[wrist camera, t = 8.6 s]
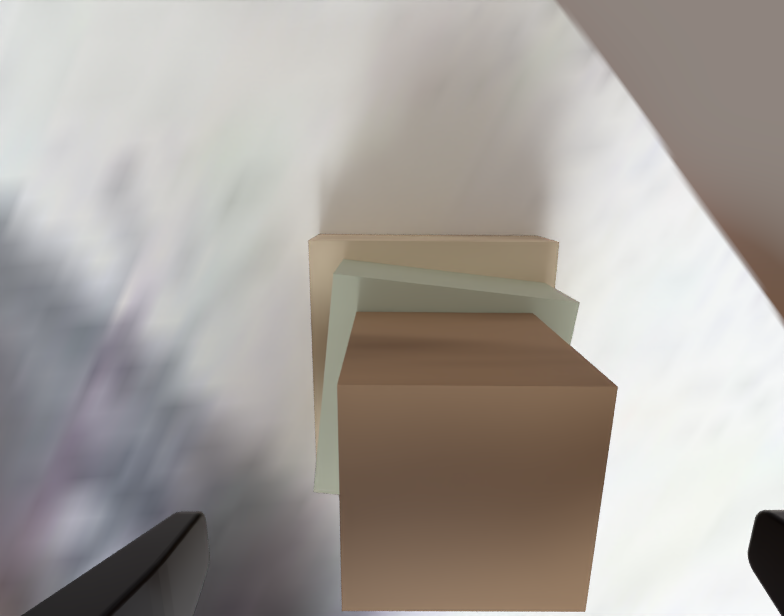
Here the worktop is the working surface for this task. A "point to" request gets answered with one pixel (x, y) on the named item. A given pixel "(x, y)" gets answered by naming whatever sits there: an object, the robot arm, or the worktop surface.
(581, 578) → the walnut cube
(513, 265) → the birch base block
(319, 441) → the sage top block
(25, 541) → the worktop surface
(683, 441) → the worktop surface
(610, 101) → the worktop surface
